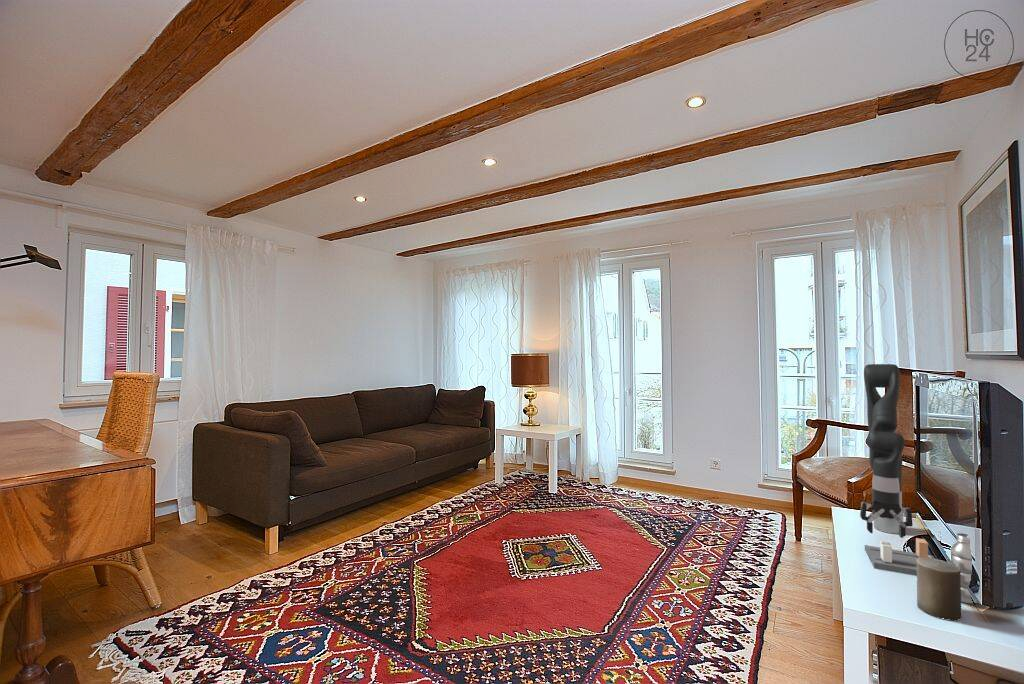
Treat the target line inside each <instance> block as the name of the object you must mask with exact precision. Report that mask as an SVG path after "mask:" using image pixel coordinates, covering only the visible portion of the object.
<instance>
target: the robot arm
mask: <svg viewBox="0 0 1024 684" xmlns="http://www.w3.org/2000/svg"><path fill="white" fill-rule="evenodd" d="M863 381H864V386H865V393H866V403H867V404H866V405H867V407H866V409H867V410H866V412H867V425H868V426H867V427H868V433H867V436H866V442H865V443H866V445H867V447H868V448H869V451H868V452H869V457H868V458H869V459H868V460H869V466H870V468H871V470H872V481H871V484H872V485H871V486H872V487H871V494H872V496H871V499H872V500H871V503H870V502H865V501H861V503H860V513H859V514H860V515H859V516H860V518H861V520H862V521H866V530H867V531H868V532H869V534H873V532H874V531H873V529H876V530H877V531H881V532H883V533H889V534H898V535H899V537H900V538H901V539H903V538H904V537H906V531H907V530H906V528H907V527H910V528H911V527H913V526H914V525H913V513H912V509H911V508H910V507H908V506H905V507H903V499H902V498H903V494H902V493H903V492H902V491H903V490H902V489H903V485H902V484H903V483H902V480H903V479H902V476H903V455H902V454H903V451H904V448H905V447H906V441H905V439H906V438H905V437H904V436H903V435H902V434H901V433H899V432H896V430H897V428H898V410H897V409H898V403H899V395H900V389H901V388H900V386H901V371H900V368H899V366H898V365H897V364H891V363H875V364H874V363H870V364H869V363H868V364H866V365H865V366H864V369H863ZM877 388H882V389H883V388H885V389H886V388H887V391H886V392H885V394H884V395H883V396H881V395H880V393H879V392H878V390H877ZM870 508H871V509H872V510H873V511H871V512H870V513H869V515H868V516H867V510H869V509H870ZM904 515H905V521H904Z"/></svg>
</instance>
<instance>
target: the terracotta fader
mask: <svg viewBox="0 0 1024 684" xmlns="http://www.w3.org/2000/svg"><path fill="white" fill-rule="evenodd" d="M915 553H916V554H917V556H918V557H919V558H928V555H929V543H928V542H927V540H926V539H923V538H917V537H916V538H915Z"/></svg>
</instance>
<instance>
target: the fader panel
mask: <svg viewBox="0 0 1024 684" xmlns="http://www.w3.org/2000/svg"><path fill="white" fill-rule="evenodd" d="M865 551H866V552H865ZM864 552H865V553H867V554H866V556H867V555H868V556H867V558H868V559H869V561H870V562H871V565H872V567H873V569H877V570H882V571H887V572H894V573H899V574H905V575H910V576H916V577H917V561H916V559H918V558H919V557H918V556H917V554H916V552H911V551H904V550H898V549H893V548H892V563H890V562H884V561H883V560H882V558H881V550H880V546H879V547H878V546H873V545H867V544H865V545H864ZM928 558H932V559H936V558H935V556H934V555H931V554H928Z"/></svg>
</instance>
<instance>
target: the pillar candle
mask: <svg viewBox="0 0 1024 684" xmlns="http://www.w3.org/2000/svg"><path fill="white" fill-rule="evenodd" d="M916 561H917V576H916V605H917V608H918V609H919V610H921V611H922V612H924V613H926V614H927V615H930V616H932V617H934V618H937V617H939V618H938V619H940V618H944V619H950V620H949V621H955V620H956V621H959V620H958V619H960V618H961V619H962V601H961V570H960V568H959V567H957V566H956V565H953V563H951V562H949V561H945V560H941V559H938V558H935V559H932V558H918V559H916ZM944 619H943V620H944ZM961 619H960V620H961Z"/></svg>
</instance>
